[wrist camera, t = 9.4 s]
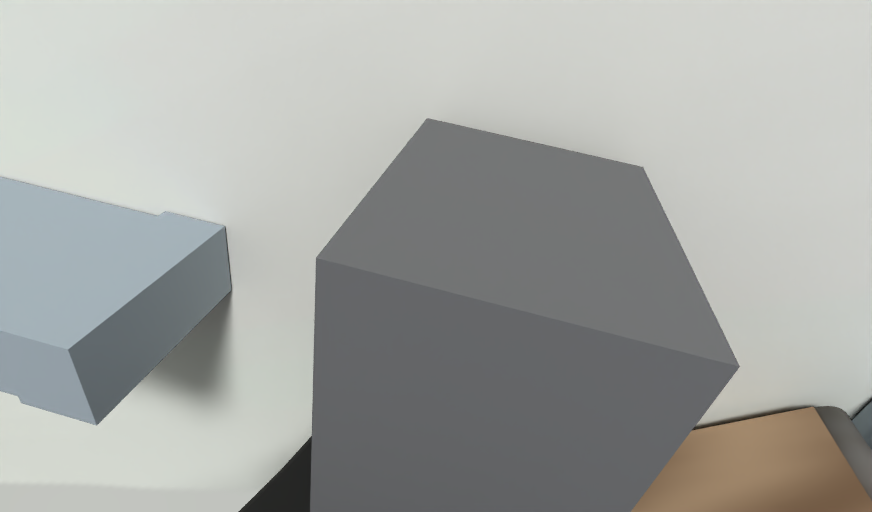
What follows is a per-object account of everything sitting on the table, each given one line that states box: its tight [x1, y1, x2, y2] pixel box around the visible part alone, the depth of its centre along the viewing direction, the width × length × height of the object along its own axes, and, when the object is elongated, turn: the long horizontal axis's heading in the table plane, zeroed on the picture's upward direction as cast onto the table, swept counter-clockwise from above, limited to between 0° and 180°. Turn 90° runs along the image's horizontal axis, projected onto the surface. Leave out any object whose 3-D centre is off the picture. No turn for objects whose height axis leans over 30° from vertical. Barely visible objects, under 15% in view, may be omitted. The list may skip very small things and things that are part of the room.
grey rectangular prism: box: [310, 118, 740, 512], centre depth 8 cm, size 4×6×5 cm, turn 170°
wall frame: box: [0, 177, 872, 450], centre depth 9 cm, size 30×2×4 cm, turn 80°
